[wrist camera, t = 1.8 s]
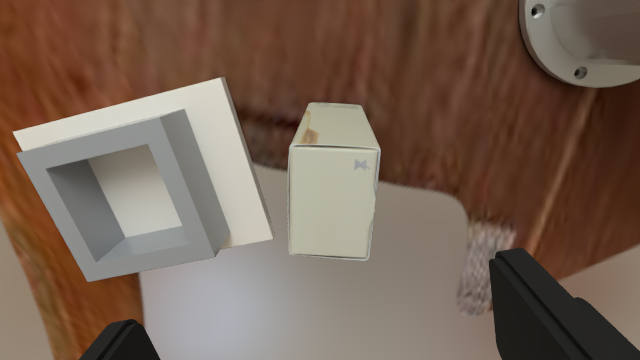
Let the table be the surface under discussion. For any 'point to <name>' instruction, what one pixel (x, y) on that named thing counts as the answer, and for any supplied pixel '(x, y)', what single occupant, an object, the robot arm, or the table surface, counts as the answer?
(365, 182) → the skincare box
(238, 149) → the square socket base
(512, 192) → the table surface
